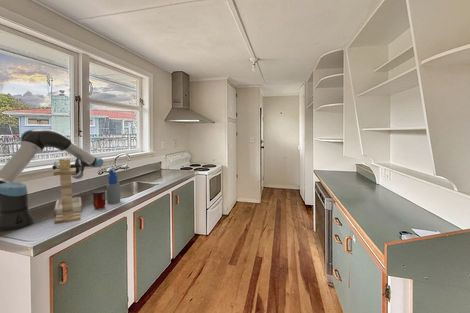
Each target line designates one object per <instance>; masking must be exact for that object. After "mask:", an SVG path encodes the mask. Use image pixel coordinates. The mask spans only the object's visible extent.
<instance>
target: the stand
mask: <svg viewBox="0 0 470 313" xmlns="http://www.w3.org/2000/svg"><path fill="white" fill-rule="evenodd" d="M53 170H54V169H53ZM71 174H76V168H71V169H70V170H60V169H55V170H54V171H53V176H55V177H57V176H59V181H60V183H59V184H60V197H61V199H62V215H56V216H55V219H54V224H55V225H58V224H63V223H64V222H65V223H69V222H74V221H75V222H77V221H80V220H81V219H82V218H81V212H75V213H73V201H72V198H73V188H72V176H71Z"/></svg>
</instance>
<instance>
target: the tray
mask: <svg viewBox="0 0 470 313" xmlns="http://www.w3.org/2000/svg"><path fill="white" fill-rule="evenodd" d="M72 201H73V213H75V212H80V213H82V212H83V209H82V208H83V207H82V197H81V196H77V197H72ZM53 210H54V216H55V217H56V215H62V199H56V202H55V206H54V209H53Z"/></svg>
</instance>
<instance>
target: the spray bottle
mask: <svg viewBox="0 0 470 313" xmlns="http://www.w3.org/2000/svg"><path fill="white" fill-rule="evenodd" d="M107 177H108V178H107V180H108V183H106V185H105V186H106V187H105V192H106V203H107V205H115V204H116V205H117V204H120V203H121V184H120V182H118V175H117V172H116V169H114V168H113V169H109V174H108V176H107Z"/></svg>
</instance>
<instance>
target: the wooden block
mask: <svg viewBox="0 0 470 313" xmlns="http://www.w3.org/2000/svg"><path fill="white" fill-rule="evenodd" d="M58 165H59V168H60V170H70V169H71V168H70V165H71V159H70V158H59V159H58Z"/></svg>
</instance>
